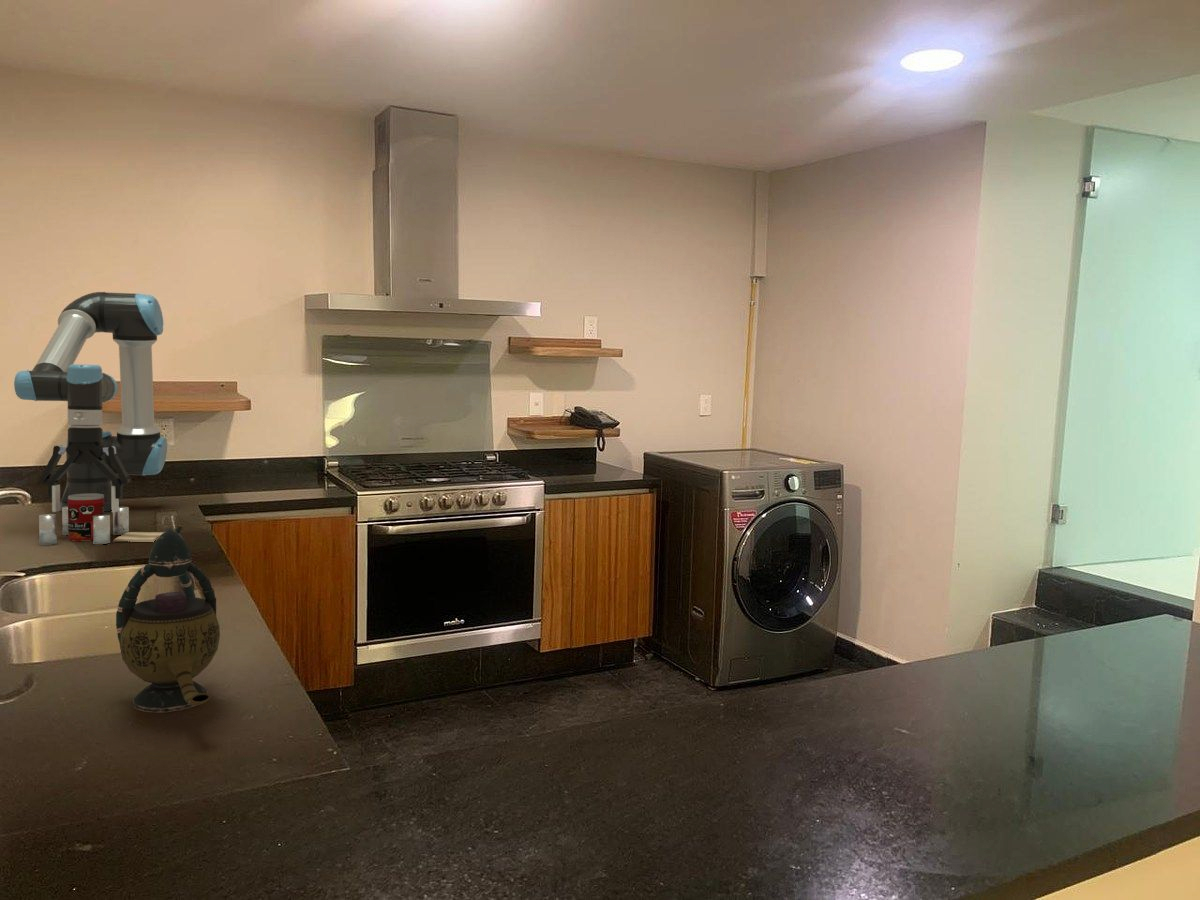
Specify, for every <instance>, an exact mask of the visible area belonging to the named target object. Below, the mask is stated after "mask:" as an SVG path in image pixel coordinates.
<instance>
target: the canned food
mask: <svg viewBox="0 0 1200 900" xmlns="http://www.w3.org/2000/svg"><path fill="white" fill-rule="evenodd" d="M94 515H105V512H104V495H103V494H96V493H86V494H74V495H69V496H68V536H67V537H68V539H69V541H71V540H75V541H74V542H82V541H81V540H93V516H94Z"/></svg>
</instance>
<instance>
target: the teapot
mask: <svg viewBox="0 0 1200 900" xmlns="http://www.w3.org/2000/svg"><path fill="white" fill-rule="evenodd" d="M182 529H183V526H177V528H176V529H175V530H174V529H173V528H171V527H170V528H168V529H167V530H165V531H163V532H164V533H163V534H161V536H160V537H159V538H158V539H157V540H156V541H155V542H153V543H154V544H153V546H152V547H151V550H150V553H149V556H148V563H146V564H145V565H143V566H142V567H140V568H139V570H138V571H136V573H135V574H134V575H133V576H132V578H131V579H130V580H129V582H128V583H127V585H126V587H125V589H124V590H123V593H122V595H121V597H120V599H119V601H118V605H117V610H116V614H115V626H116V633H117V634H116V635H117V640H118V642H119V647H120V653H121V658H122V661H123V662H124V665H126V667H127V669H128V671H130V672H131V673H132V674H134V675H135V676H136V677H138V678H139V679H140V680H142V681H143V682H145V683H150V684H148V685H147V686H146V687H144V688H143V689H142V690H141V691H140V692H139V693H138V694H137V695H136V696H135V697H133V699H132V707H133V708H134V709H136V710H137V711H142V712H145V713H146V712H147V713H169V712H171V713H172V712H177V711H182V710H186V709H190V708H193V707H196V706H201V705H203V704H205V703H206V702H207V701H209V700H211V697H212V695H211V694H210V693H209V691H208V689H206V688H205V687H204V686H202V685H200V684H199V683H197V682H196V681H194V680H193V678H195V677H197V676H199V674H201V673H202V672H203V671H204V670H205V669H206V668H207V667H208V666H209V665H210V664H211V662H212V660H213V659H214V657H215V655H216V653H217V652H218V649H219V643H220V640H221V639H220V638H221V632H220V631H221V630H220V629H221V628H220V623H219V620H218V618H217V597H216V596H215V595H216V594H215V589H214V588H213V587H212V583H211V580H210V577H209V576H206V574H205V573H204V571H202V569H201V568H200V567H197V566H195V565H194V564H193V563H192V559H193V558H192V554H191V551H190V548H189V545H188V543H187V541H186V540H185V538H183V537H182V535H181V534H180V533H181V531H182ZM190 574H192V576H194V578H196V580H197V581H199V582H198V583H199V586H200V587H201V589H202V590H201V591H202V595H203V597H204V598H200V597H196V593H195V589H194V585H193V583H192V579H191V576H190ZM153 575H155V576H156V577H159V578H176V577H178V579H179V583H180V585H181V589H182V591H181V592H180V591H170V592H169V591H168V592H162V593H158V594H157V595H155V596H154V598H153V599H148V600H143V601H139V602H138V603H137V601H138V596H139V594H140V591H141V589H142V586H143V585H144V584H145V583H146V582H147V580H148V579H149V578H150V577H152V576H153Z"/></svg>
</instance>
